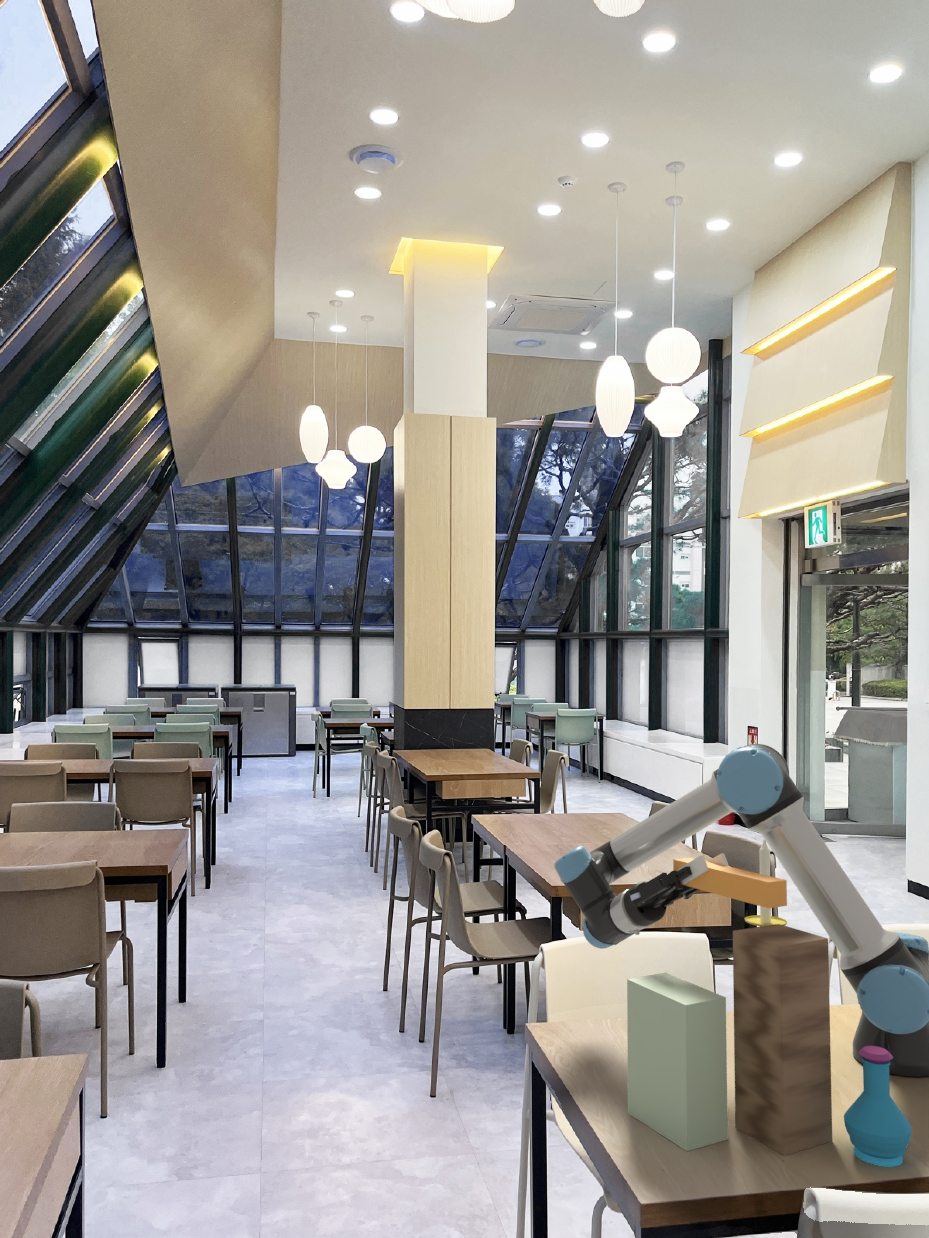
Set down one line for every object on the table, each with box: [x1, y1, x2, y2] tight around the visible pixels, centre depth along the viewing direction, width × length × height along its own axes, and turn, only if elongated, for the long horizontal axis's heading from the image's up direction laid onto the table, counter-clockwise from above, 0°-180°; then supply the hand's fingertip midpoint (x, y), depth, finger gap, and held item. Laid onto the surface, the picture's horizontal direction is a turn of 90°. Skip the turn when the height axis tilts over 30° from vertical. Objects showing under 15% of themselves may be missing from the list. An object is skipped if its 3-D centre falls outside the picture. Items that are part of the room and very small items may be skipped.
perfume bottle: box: [843, 1046, 913, 1168], centre depth 137 cm, size 9×9×15 cm
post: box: [732, 924, 833, 1156], centre depth 144 cm, size 10×10×30 cm
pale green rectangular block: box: [626, 972, 729, 1152], centre depth 146 cm, size 14×8×21 cm, turn 28°
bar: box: [672, 857, 788, 909], centre depth 156 cm, size 22×4×4 cm, turn 29°
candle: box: [744, 838, 788, 927], centre depth 194 cm, size 10×10×38 cm
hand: (714, 862), depth 159 cm, fingers closed on bar, 4 cm apart
